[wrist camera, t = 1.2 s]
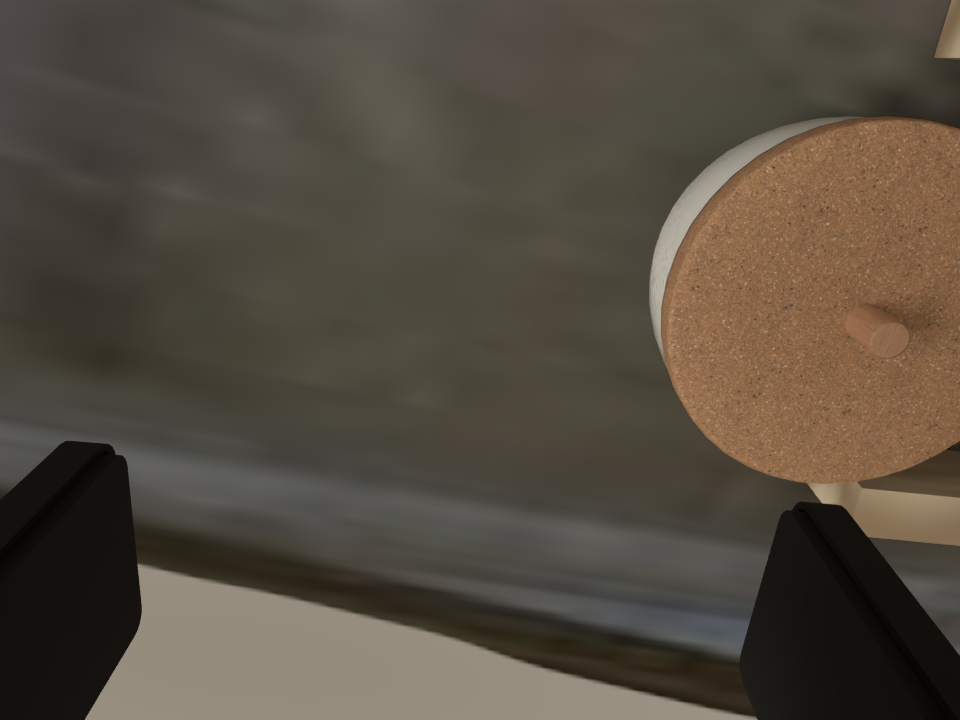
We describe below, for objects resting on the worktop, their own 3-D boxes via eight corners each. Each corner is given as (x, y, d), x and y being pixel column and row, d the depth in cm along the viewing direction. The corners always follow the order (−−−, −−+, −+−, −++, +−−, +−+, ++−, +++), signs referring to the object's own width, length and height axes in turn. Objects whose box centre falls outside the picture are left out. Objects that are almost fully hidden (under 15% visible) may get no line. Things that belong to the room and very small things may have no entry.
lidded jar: (592, 362, 30) (637, 487, 21) (661, 76, 26) (752, 85, 17) (852, 403, 30) (1000, 542, 22) (958, 130, 27) (1190, 166, 18)
